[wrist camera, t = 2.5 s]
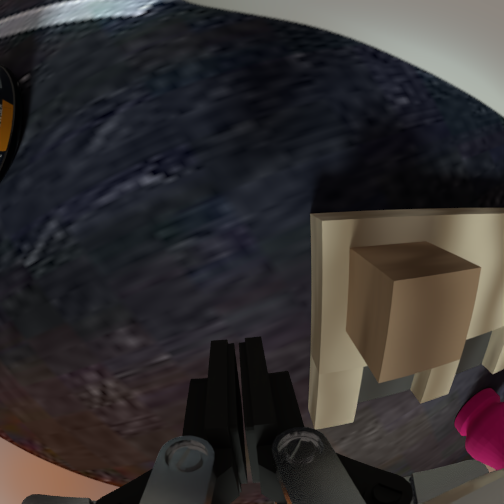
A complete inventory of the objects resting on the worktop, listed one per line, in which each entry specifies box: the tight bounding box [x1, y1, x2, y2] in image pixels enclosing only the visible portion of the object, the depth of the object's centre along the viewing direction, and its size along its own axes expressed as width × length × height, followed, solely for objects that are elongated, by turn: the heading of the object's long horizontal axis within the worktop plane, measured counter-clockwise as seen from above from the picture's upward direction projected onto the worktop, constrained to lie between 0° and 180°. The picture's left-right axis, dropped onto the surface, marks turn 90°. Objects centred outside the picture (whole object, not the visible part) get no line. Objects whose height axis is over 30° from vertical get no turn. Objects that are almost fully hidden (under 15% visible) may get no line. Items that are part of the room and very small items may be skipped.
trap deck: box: [308, 208, 504, 429], centre depth 18 cm, size 24×15×2 cm, turn 94°
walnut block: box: [346, 241, 481, 383], centre depth 14 cm, size 5×5×5 cm
